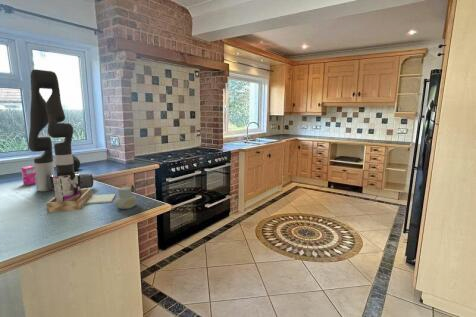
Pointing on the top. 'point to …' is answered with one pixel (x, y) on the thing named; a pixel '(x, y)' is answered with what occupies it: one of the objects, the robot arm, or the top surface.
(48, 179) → the bluetooth speaker
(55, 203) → the oak bin
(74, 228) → the top surface
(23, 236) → the top surface
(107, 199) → the plate
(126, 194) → the air freshener
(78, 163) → the squash
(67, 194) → the candy bar box
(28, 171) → the supplement box
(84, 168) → the top surface
